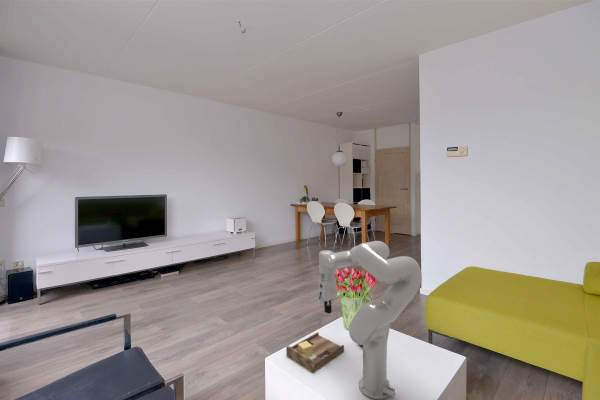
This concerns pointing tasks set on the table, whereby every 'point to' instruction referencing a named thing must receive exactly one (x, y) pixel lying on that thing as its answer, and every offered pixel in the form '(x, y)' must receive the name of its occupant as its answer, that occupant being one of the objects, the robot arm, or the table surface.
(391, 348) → the table surface
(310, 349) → the block
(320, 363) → the box
